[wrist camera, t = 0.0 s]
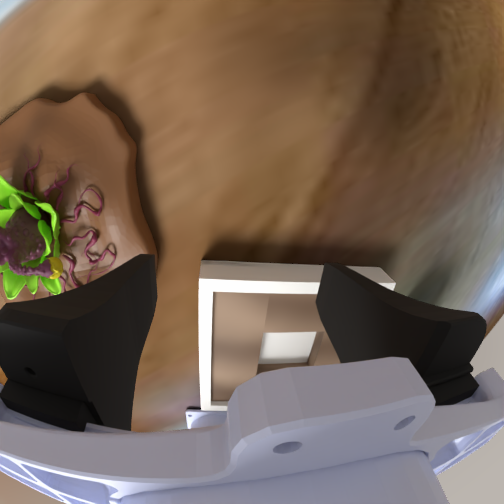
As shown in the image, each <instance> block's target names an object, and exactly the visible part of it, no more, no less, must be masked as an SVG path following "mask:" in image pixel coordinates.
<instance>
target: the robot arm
mask: <svg viewBox="0 0 504 504" xmlns="http://www.w3.org/2000/svg"><path fill="white" fill-rule="evenodd" d="M156 302H157V284H156V267H155V254H139V255H137V256H135V257H133V258H132V259H130V260H128V261H127V262H125V263H123V264H122V265H120V266H119V267H117V268H115V269H114V270H112V271H110V272H108V273H106V274H105V275H103V276H101V277H99V278H97V279H95V280H93V281H91V282H89V283H87V284H85V285H82V286H80V287H77V288H75V289H72V290H69V291H66V292H63V293H60V294H56V295H53V296H49V297H44V298H40V299H34V300H28V301H20V302H10V303H6V304H5V305H4V306H3V307H2V309H1V310H0V366H1V368H2V370H3V372H4V373H5V375H6V377H7V378H8V380H7V381H6V383H5V385H4V386H3V385H2V384H1V383H0V471H2V472H3V473H5V474H7V475H9V476H11V477H12V478H14V479H16V480H18V481H20V482H22V483H23V484H25V485H27V486H29V487H31V488H33V489H35V490H37V491H39V492H41V493H44V494H46V495H48V496H50V497H52V498H55V499H57V500H59V501H62V502H64V503H67V504H449V502H448V500H447V497H446V495H445V493H444V491H443V489H442V487H441V485H440V483H439V481H438V478H437V477H436V476H437V475H439V474H440V473H442V472H443V471H445V470H447V469H448V468H450V467H452V466H453V465H455V464H456V463H458V462H459V461H461V460H463V459H464V458H466V457H467V456H468V455H470V454H472V453H473V452H474V451H476V450H477V449H479V448H480V447H481V446H483V445H485V444H486V443H487V442H488V441H489V440H490V439H491V438H492V437H493V436H494V435H495V434H496V433H497V432H498V431H499V430H500V429H501V428H502V427H503V426H504V380H503V379H502V378H501V377H500V376H499V374H498V373H497V372H496V371H495V370H494V368H490V369H488V370H486V371H484V372H481V373H480V374H478V375H477V376H476V377H475V378H474V377H473V376H472V375H471V374H470V372H472V371H473V367H472V366H471V364H470V361H471V360H472V358H473V357H474V355H475V353H476V351H477V350H478V348H479V346H480V345H481V343H482V341H483V339H484V336H485V333H486V326H487V324H486V321H485V319H484V318H483V317H482V316H481V315H479V314H478V313H475V312H469V311H461V310H453V309H448V308H443V307H439V306H435V305H431V304H427V303H424V302H421V301H418V300H415V299H412V298H409V297H407V296H404V295H402V294H399V293H397V292H395V291H392V290H390V289H388V288H386V287H384V286H382V285H380V284H378V283H376V282H374V281H373V280H371V279H369V278H367V277H365V276H363V275H361V274H360V273H358V272H356V271H354V270H352V269H350V268H348V267H346V266H344V265H342V264H339V263H325V264H324V268H323V272H322V277H321V281H320V285H319V289H318V293H317V297H316V301H315V303H316V306H317V310H318V313H319V316H320V320H321V322H322V324H323V326H324V328H325V331H326V333H327V335H328V337H329V339H330V341H331V343H332V345H333V347H334V349H335V351H336V353H337V356H338V358H339V360H340V364H330V365H319V366H305V367H287V368H282V369H278V370H273V371H268V372H263V373H260V374H258V375H256V376H255V377H253V378H251V379H250V380H248V381H246V382H244V383H243V384H241V385H239V386H237V387H236V389H235V391H234V392H233V394H232V396H231V398H230V400H229V401H228V406H227V411H205V410H193V409H188V410H186V418H187V426H188V429H183V430H173V431H160V432H141V433H139V432H133V431H131V419H132V407H133V398H134V390H135V383H136V376H137V370H138V365H139V361H140V357H141V353H142V350H143V347H144V344H145V341H146V338H147V335H148V332H149V329H150V326H151V323H152V320H153V317H154V312H155V307H156Z"/></svg>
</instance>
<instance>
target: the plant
mask: <svg viewBox="0 0 504 504" xmlns="http://www.w3.org/2000/svg"><path fill="white" fill-rule="evenodd" d="M136 156H137V146H136V143H135V141H134V140H133V139H132V138H131V137H130V136H129V135H128V133H127V131H126V129H125V126H124V125H123V123H122V121H121V120H120V118H119V117H118V116H117V115H116V114H115V113H114V112H112V111H110V110H109V109H107V108H106V107H105V106H104V105H103V104H102V103H101V102H100V101H99V99H98V98H97V96H96V95H95V94H91V93H86V92H82V93H80V94H78V95H77V96H75V97H74V98H72V99H71V100H69V101H67V102H64V103H57V102H55V101H53V100H51V99H43V98H37V99H34V100H32V101H30V102H28V103H27V104H25V105H24V106H23V107H22V108H21V109H20V110H18V111H17V112H16V113H15V114H13V115H12V116H11V117H9V118H8V119H7V120H6V121H4V122H3V123H2V124H1V125H0V294H1V295H2V297H3V299H4V300H5V302H6V303H10V302H20V301H28V300H34V299H40V298H44V297H49V296H53V295H56V294H60V293H63V292H66V291H69V290H72V289H75V288H77V287H80V286H82V285H85V284H87V283H89V282H91V281H93V280H95V279H97V278H99V277H101V276H103V275H105V274H106V273H108V272H110V271H112V270H114V269H115V268H117V267H119V266H120V265H122V264H123V263H125V262H127V261H128V260H130V259H132V258H133V257H135V256H137V255H139V254H155V267H156V270H157V264H158V255H157V250H156V246H155V242H154V239H153V236H152V234H151V231H150V229H149V226H148V224H147V222H146V220H145V217H144V214H143V211H142V207H141V203H140V197H139V192H138V186H137V179H136V171H135V162H136Z"/></svg>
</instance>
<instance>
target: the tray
mask: <svg viewBox="0 0 504 504" xmlns="http://www.w3.org/2000/svg"><path fill="white" fill-rule="evenodd" d="M346 267H348V268H350V269H352V270H354V271H356V272H358V273H360V274H361V275H363V276H365V277H367V278H369V279H371V280H373V281H374V282H376V283H378V284H380V285H382V286H384V287H386V288H388V289H390V290H392V291H393V290H394V287H395V284H396V283H395V282H394V281H393V280H392V279H391V278H390V277H389V276H388V275H387V274H386V273H385V272H384V271H383V270H382V269H381V268H380V267H359V266H346ZM323 268H324V265H305V264H280V263H257V262H235V261H214V260H201V267H200V275H199V367H200V396H201V410H205V411H227V406H228V401H211V336H212V304H213V291H214V292H240V293H278V294H317V293H318V289H319V285H320V281H321V277H322V272H323ZM315 335H316V332H287V333H263V338H262V344H261V350H260V356H259V362H258V364H281V363H302V362H307V361H308V358H309V355H310V352H311V348H312V345H313V342H314V339H315Z"/></svg>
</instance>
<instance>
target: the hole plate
mask: <svg viewBox="0 0 504 504" xmlns="http://www.w3.org/2000/svg"><path fill="white" fill-rule="evenodd" d="M316 297H317V294H278V293H240V292H214V291H213V304H212V336H211V401H229V400H230V398H231V396H232V394H233V392H234V391H235V389H236V387H237V386H239V385H241V384H243V383H244V382H246V381H248V380H250V379H251V378H253V377H255V376H256V375H258V374H260V373H263V372H268V371H273V370H278V369H282V368H287V367H305V366H319V365H330V364H340V360H339V358H338V356H337V353H336V351H335V349H334V347H333V345H332V343H331V341H330V339H329V337H328V335H327V333H326V331H325V328H324V326H323V324H322V322H321V320H320V316H319V313H318V310H317V306H316V303H315V301H316ZM287 332H316V335H315V339H314V342H313V345H312V348H311V352H310V355H309V358H308V361H307V362H302V363H281V364H258V362H259V356H260V350H261V344H262V338H263V333H287Z"/></svg>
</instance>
